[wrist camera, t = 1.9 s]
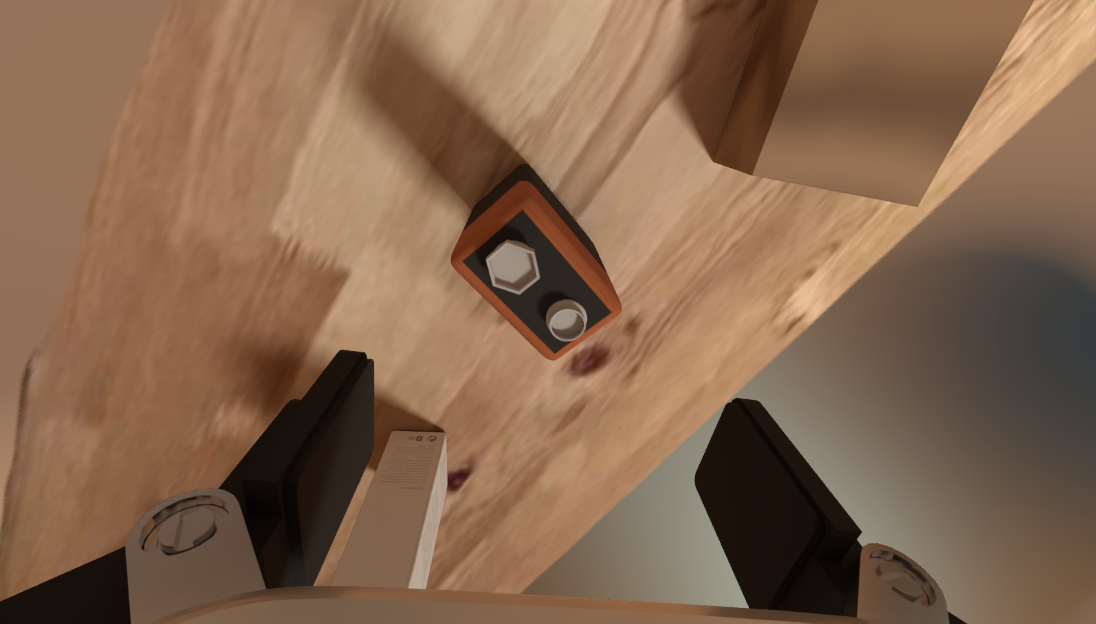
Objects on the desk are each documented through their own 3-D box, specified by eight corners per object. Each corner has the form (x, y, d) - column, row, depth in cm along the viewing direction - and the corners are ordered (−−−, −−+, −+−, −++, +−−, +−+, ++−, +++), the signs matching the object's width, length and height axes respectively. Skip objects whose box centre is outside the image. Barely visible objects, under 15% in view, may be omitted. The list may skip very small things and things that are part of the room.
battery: (525, 158, 24) (525, 196, 15) (597, 246, 26) (633, 322, 18) (469, 208, 25) (439, 271, 16) (543, 288, 28) (552, 379, 19)
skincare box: (390, 428, 32) (323, 592, 22) (447, 430, 33) (409, 592, 22) (396, 484, 35) (339, 655, 24) (448, 486, 35) (415, 654, 25)
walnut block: (774, -30, 21) (842, -64, 16) (935, 11, 22) (1040, -11, 17) (711, 161, 25) (752, 175, 20) (849, 187, 26) (917, 206, 21)
